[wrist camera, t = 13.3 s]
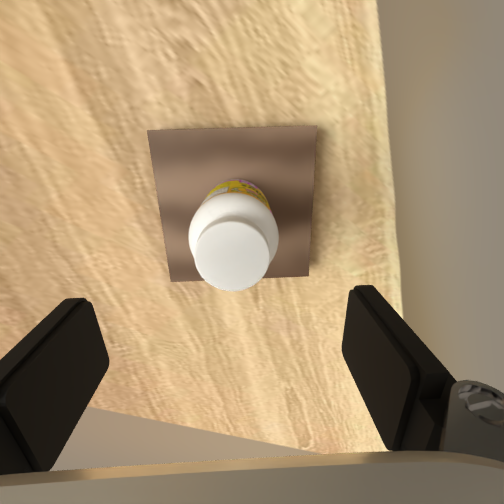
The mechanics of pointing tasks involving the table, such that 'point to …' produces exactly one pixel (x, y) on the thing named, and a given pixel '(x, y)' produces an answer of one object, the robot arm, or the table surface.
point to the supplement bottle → (233, 236)
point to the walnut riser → (243, 168)
